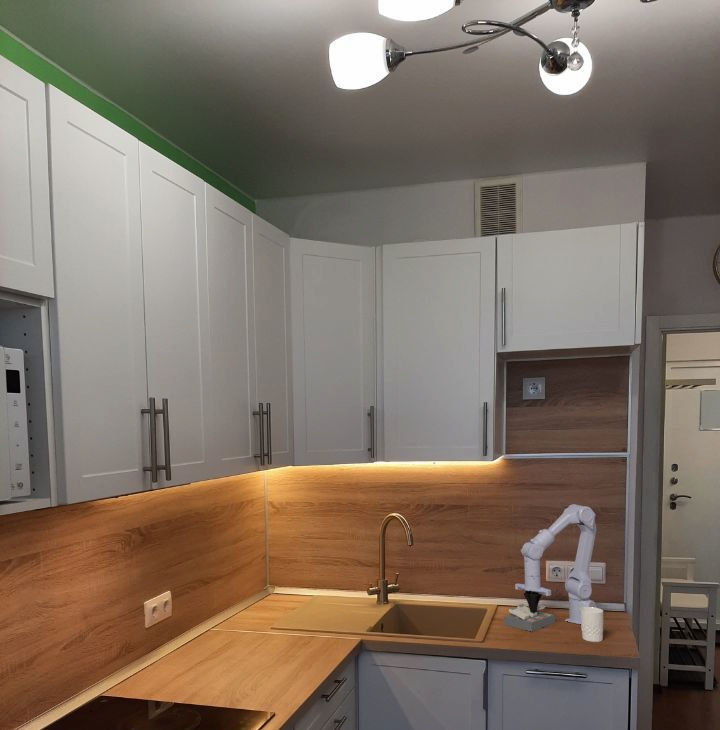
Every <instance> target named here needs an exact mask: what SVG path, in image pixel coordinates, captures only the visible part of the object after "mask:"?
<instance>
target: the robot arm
mask: <svg viewBox="0 0 720 730" xmlns="http://www.w3.org/2000/svg"><path fill="white" fill-rule="evenodd" d="M571 524H576V525H577V526H578V528H579V529H580V535H579V540H578V545H577V551H576V556H575V561H574V565H573V570H572V571H571V572H569V575H568V577H567V579H566V580H565V583H564V588H565V591H566V592H567V593H568V594H567V595H568V607H569V608H568V610H569V611H568V613H569V618H566V619H564V622H567V621H568V622H569V623H572V624H577V625H580V624H581V619H580V608H582V607H595V608H597V605H596V602H595V601H594V600H591V599H590V597H591V595H592V592H593V589H592V579H591V577H590V575H589V572H590V566H591V560H592V556H593V552H594V551H593V550H594V544H595V540H596V535H597V534H596V533H597V524H596V513H595V512H594V510H593V509H592V508H591V507H589V506H585V505H584V506H583V505H579V504H575V503H572V504H570V505H569V506H568V507H567V508H565V509H564V510H563V512H562V514H561V515H560V516H559V517H558V518H557V519H555V521H554V522H553V523H552V524H551V526H549V527H548V528H547V529H546V528H543V529H540V530H539V531H538V534H536V535H535V536H534V537H533V538H531V539H530V540H529V541H528V542H525V543H524V544H523V545H522V548H521V549H520V552H521V554H522V556H523V561H524V565H523V566H524V583H515V584H514V587H515V588H514V589H515V590H518V591H519V590H520V591H524V593H523V596H524V598H525V600H526V602H527V605H528V606H529V608H530V612H532V613H535V612H537V607H538V605H539V603H540V600H541V598H542V597H543V595H544V596H546V597H550V596H552V590H551V589H549V588H545V587H542V586H541V562H540V561H541V560H540V559H541V558H542V557H543V553H544V551H545V550H546V549H547V548H548V547H549V546H550V545H552V544H553V542H555V536H557V535H558V534H560V532H561V531H563V530H564V529H565V528H566V527H568V526H569V525H571ZM568 622H567V623H568Z"/></svg>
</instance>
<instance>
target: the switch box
mask: <svg viewBox="0 0 720 730" xmlns="http://www.w3.org/2000/svg"><path fill="white" fill-rule="evenodd" d="M503 620H504V621H503V625H504V626H507V627H510V626H511V628H514V627H515V628H514V629H518V628H519V629H518V630H522V629H524V630H523V631H525V630H528V631H527V632H529V631H531V633H533V632H535V631H534V630H536V631H538V630H537V629H539V630H541V629H543V628H542V627H544V628H546V627H545V626H547V627H549V626H548V625H550V624H552V625H554V624H553V623H555V624H556V615H555V614H554V613H550V612H544V611H540V610H537V616H535V617H531V616H529V618H528V619H525V620H523V619H522V618H520V617H518V616H516V615H514V614H512V613H510V614H507V615H503ZM550 626H551V625H550ZM540 628H541V629H540ZM532 631H533V632H532Z"/></svg>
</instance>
